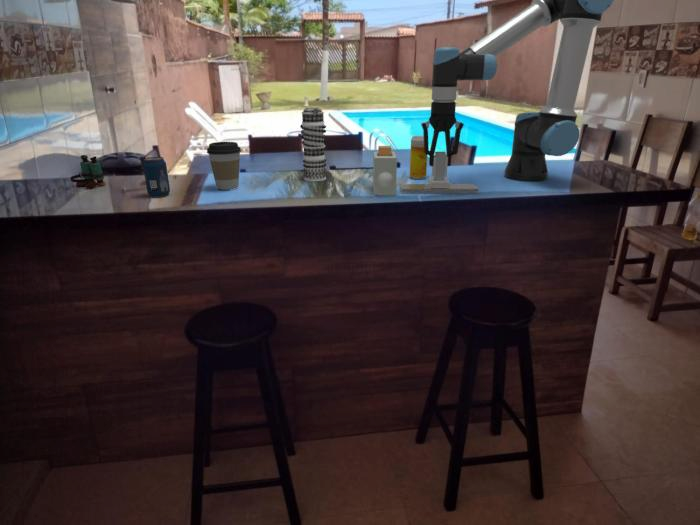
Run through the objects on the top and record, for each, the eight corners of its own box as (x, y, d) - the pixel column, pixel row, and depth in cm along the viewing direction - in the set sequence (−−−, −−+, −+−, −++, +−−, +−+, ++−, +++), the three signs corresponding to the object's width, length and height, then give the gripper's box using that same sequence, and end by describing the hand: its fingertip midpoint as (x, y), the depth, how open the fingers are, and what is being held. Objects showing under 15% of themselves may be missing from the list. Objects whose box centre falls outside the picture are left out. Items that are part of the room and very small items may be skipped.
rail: (473, 188, 169) (473, 183, 168) (478, 193, 162) (478, 188, 162) (399, 188, 169) (399, 184, 169) (401, 193, 163) (401, 189, 162)
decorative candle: (318, 182, 178) (315, 109, 169) (297, 179, 183) (294, 108, 173) (332, 177, 185) (330, 107, 176) (312, 175, 190) (309, 106, 180)
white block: (393, 186, 171) (394, 151, 167) (395, 195, 160) (397, 158, 155) (373, 186, 172) (373, 151, 167) (374, 195, 160) (374, 158, 156)
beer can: (425, 180, 181) (427, 137, 175) (408, 179, 182) (410, 137, 176) (426, 176, 186) (428, 135, 181) (410, 175, 188) (411, 135, 182)
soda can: (153, 192, 166) (147, 156, 161) (173, 192, 165) (168, 156, 161) (144, 198, 159) (138, 160, 155) (165, 198, 159) (160, 160, 154)
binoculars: (60, 161, 167) (85, 153, 175) (69, 190, 172) (93, 182, 180) (78, 162, 164) (103, 154, 172) (87, 193, 169) (111, 184, 177)
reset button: (390, 161, 164) (390, 145, 162) (391, 163, 160) (391, 147, 159) (378, 161, 164) (378, 145, 162) (378, 163, 161) (379, 147, 159)
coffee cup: (229, 182, 179) (224, 140, 173) (251, 186, 173) (247, 142, 167) (203, 189, 170) (198, 144, 164) (226, 193, 164) (221, 147, 158)
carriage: (445, 183, 168) (448, 150, 164) (449, 188, 162) (451, 154, 158) (428, 183, 168) (429, 150, 164) (430, 188, 162) (432, 154, 158)
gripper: (467, 100, 158) (461, 173, 167) (416, 100, 159) (413, 173, 167) (472, 101, 151) (466, 178, 160) (419, 102, 152) (415, 178, 160)
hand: (439, 175), depth 164 cm, fingers closed on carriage, 3 cm apart
